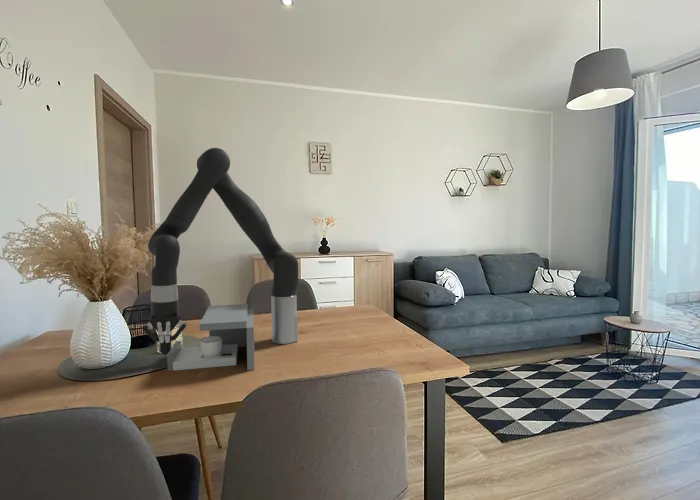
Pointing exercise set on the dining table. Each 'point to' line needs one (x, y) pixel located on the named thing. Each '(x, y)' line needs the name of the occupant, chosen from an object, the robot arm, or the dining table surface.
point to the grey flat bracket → (199, 357)
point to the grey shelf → (232, 326)
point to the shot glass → (211, 346)
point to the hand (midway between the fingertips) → (165, 353)
